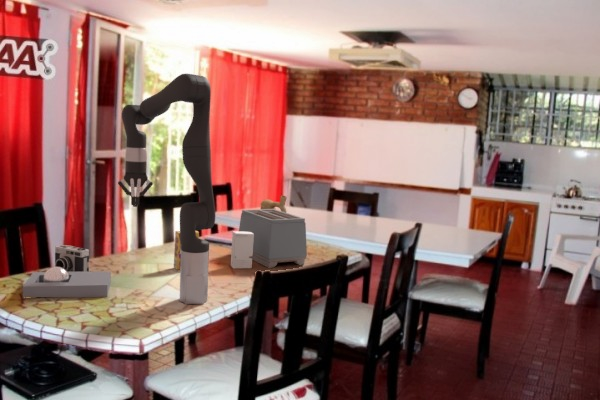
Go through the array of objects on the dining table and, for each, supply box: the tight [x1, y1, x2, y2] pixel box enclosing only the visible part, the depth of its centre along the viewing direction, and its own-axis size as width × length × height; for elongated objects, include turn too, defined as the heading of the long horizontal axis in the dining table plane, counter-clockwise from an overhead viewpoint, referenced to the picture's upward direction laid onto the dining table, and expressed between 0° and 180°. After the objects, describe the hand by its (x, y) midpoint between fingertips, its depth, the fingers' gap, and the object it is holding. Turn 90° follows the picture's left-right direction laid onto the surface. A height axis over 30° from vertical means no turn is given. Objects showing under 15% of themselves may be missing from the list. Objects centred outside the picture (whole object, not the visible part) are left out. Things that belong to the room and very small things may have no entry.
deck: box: [22, 270, 112, 299], centre depth 200 cm, size 18×26×4 cm
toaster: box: [238, 208, 308, 269], centre depth 262 cm, size 19×35×20 cm, turn 32°
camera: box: [54, 244, 90, 272], centre depth 221 cm, size 14×9×10 cm, turn 58°
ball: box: [44, 266, 69, 283], centre depth 199 cm, size 8×8×8 cm
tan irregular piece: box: [260, 195, 288, 213], centre depth 295 cm, size 17×20×25 cm
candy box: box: [173, 230, 200, 271], centre depth 236 cm, size 9×4×15 cm, turn 123°
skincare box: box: [230, 230, 254, 270], centre depth 243 cm, size 8×6×15 cm
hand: (135, 206), depth 216 cm, fingers closed
